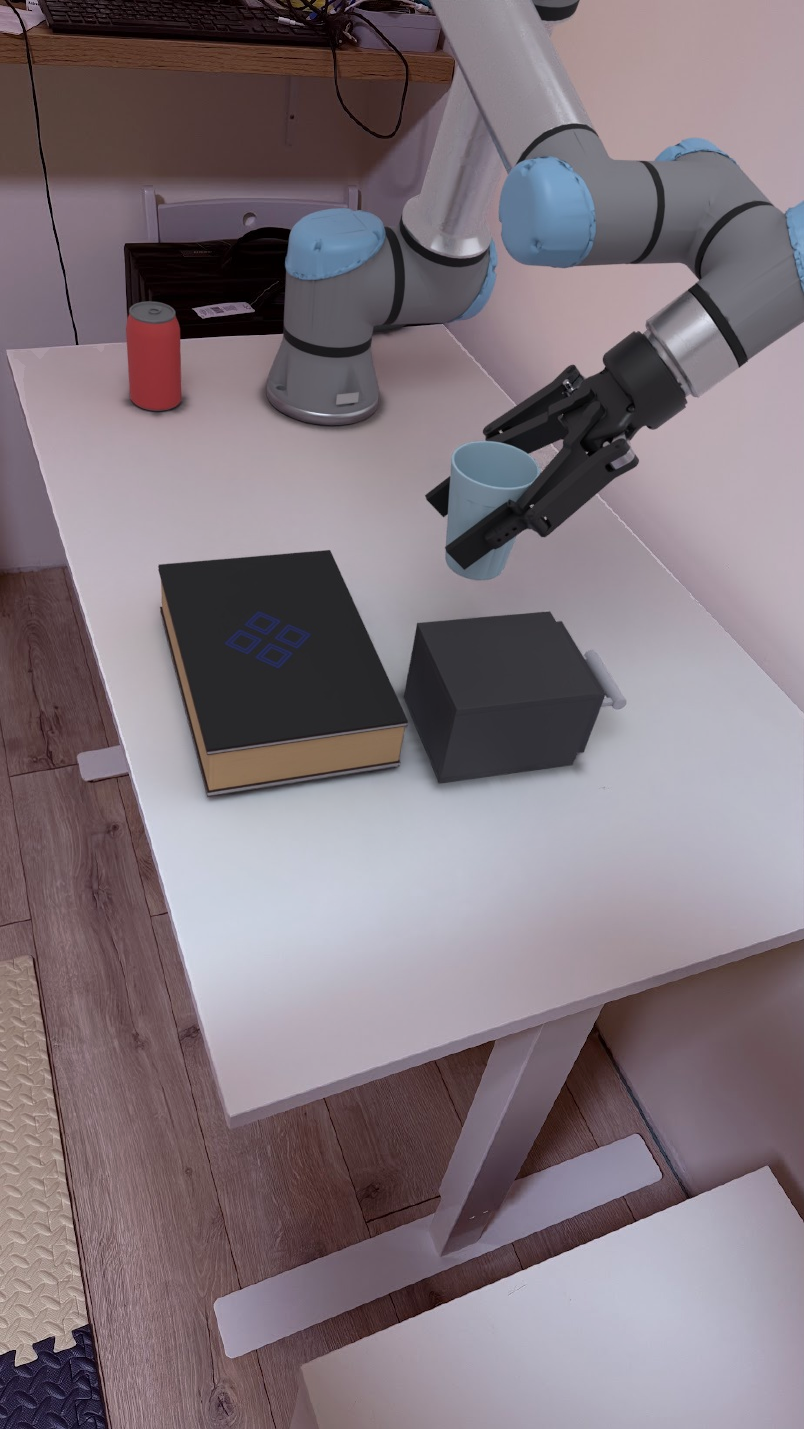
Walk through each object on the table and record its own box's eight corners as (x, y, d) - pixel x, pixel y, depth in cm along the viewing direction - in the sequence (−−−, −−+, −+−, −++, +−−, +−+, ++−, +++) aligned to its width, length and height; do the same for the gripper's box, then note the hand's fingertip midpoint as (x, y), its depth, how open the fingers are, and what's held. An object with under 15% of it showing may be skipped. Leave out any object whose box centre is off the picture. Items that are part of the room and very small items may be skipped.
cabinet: (528, 682, 103) (550, 610, 96) (572, 765, 95) (599, 693, 89) (403, 696, 99) (416, 622, 92) (439, 783, 91) (456, 709, 85)
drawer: (578, 675, 103) (598, 617, 98) (620, 747, 97) (644, 689, 91) (427, 692, 98) (440, 631, 93) (461, 769, 92) (476, 708, 86)
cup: (530, 581, 92) (556, 482, 85) (456, 594, 90) (476, 493, 82) (492, 534, 97) (514, 436, 90) (420, 545, 94) (437, 445, 87)
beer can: (190, 397, 134) (189, 308, 126) (166, 418, 130) (163, 327, 121) (146, 383, 135) (141, 294, 127) (120, 404, 131) (114, 313, 122)
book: (325, 600, 108) (330, 549, 103) (398, 772, 92) (408, 720, 87) (160, 617, 102) (157, 564, 98) (207, 803, 86) (207, 749, 82)
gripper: (735, 459, 78) (496, 627, 86) (641, 341, 92) (442, 494, 99) (696, 394, 73) (446, 577, 81) (603, 279, 87) (396, 445, 95)
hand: (444, 531), depth 90 cm, fingers closed on cup, 7 cm apart
